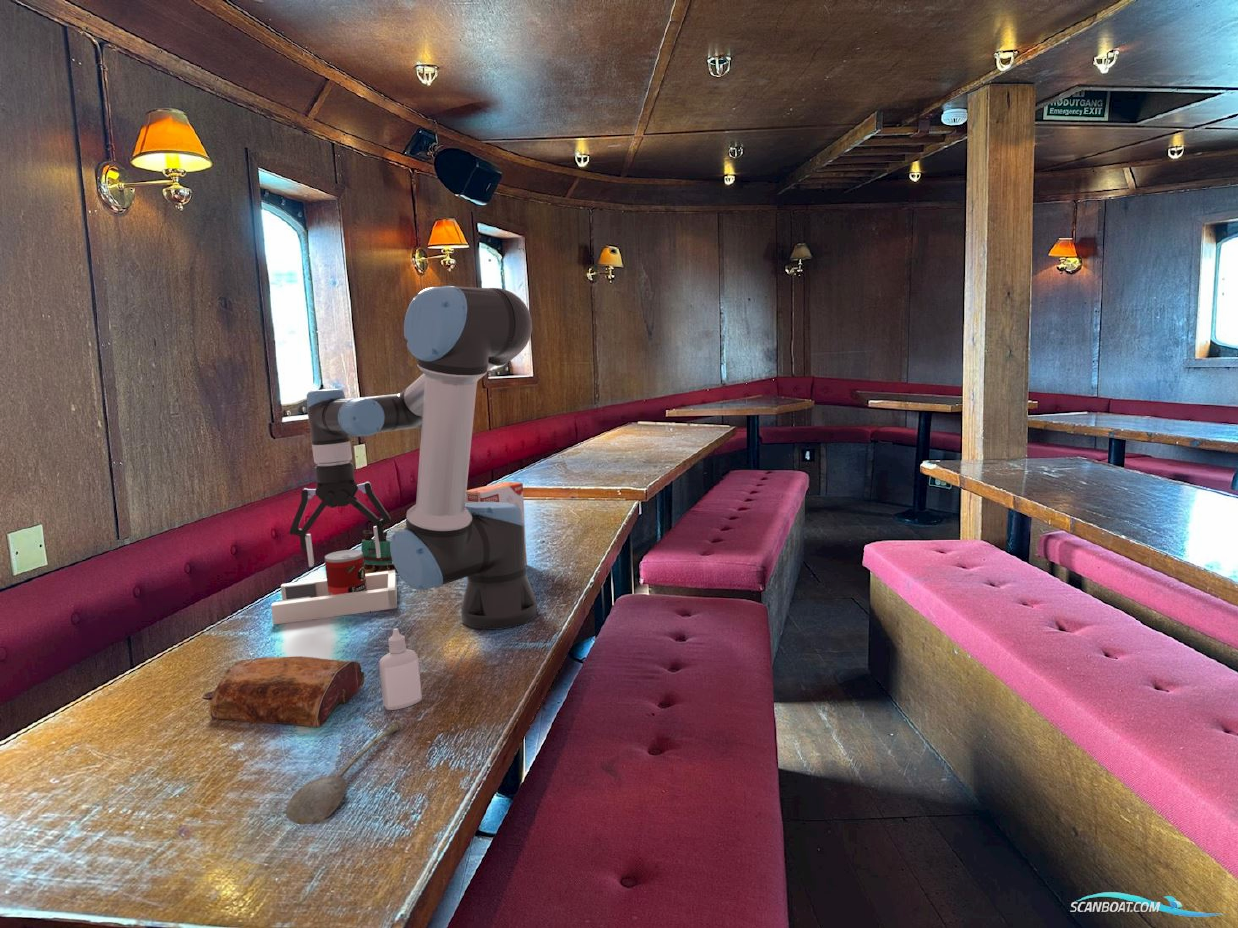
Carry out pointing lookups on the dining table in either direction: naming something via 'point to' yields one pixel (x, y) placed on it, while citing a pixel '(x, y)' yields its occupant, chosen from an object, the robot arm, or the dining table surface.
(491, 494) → the cracker box
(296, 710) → the cured meat
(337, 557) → the canned food
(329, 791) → the soupspoon
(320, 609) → the white rectangular tray
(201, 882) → the dining table surface
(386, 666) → the eye dropper bottle
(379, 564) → the binoculars
